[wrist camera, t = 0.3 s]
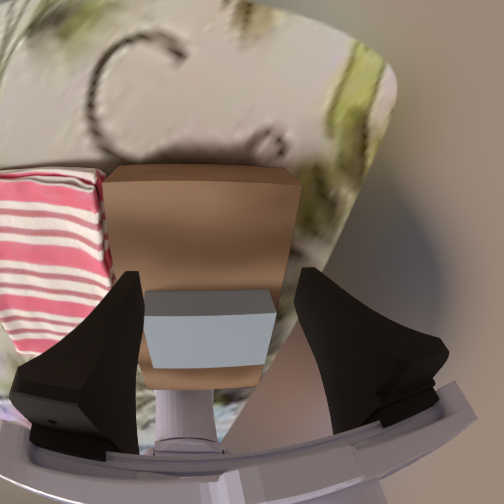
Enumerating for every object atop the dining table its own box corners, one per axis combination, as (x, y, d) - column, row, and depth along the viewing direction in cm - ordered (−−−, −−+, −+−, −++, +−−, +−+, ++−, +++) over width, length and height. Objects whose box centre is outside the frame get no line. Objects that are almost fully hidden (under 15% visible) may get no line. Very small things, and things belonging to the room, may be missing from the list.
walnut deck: (251, 357, 31) (258, 385, 28) (149, 360, 29) (148, 389, 26) (284, 168, 20) (302, 185, 17) (118, 165, 17) (102, 182, 14)
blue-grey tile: (258, 341, 24) (264, 364, 22) (154, 344, 22) (153, 368, 20) (268, 289, 21) (276, 312, 18) (144, 291, 19) (140, 316, 17)
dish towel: (116, 160, 18) (102, 174, 15) (138, 361, 30) (136, 385, 27) (-34, 172, 14) (-55, 186, 11) (24, 345, 26) (16, 365, 23)
